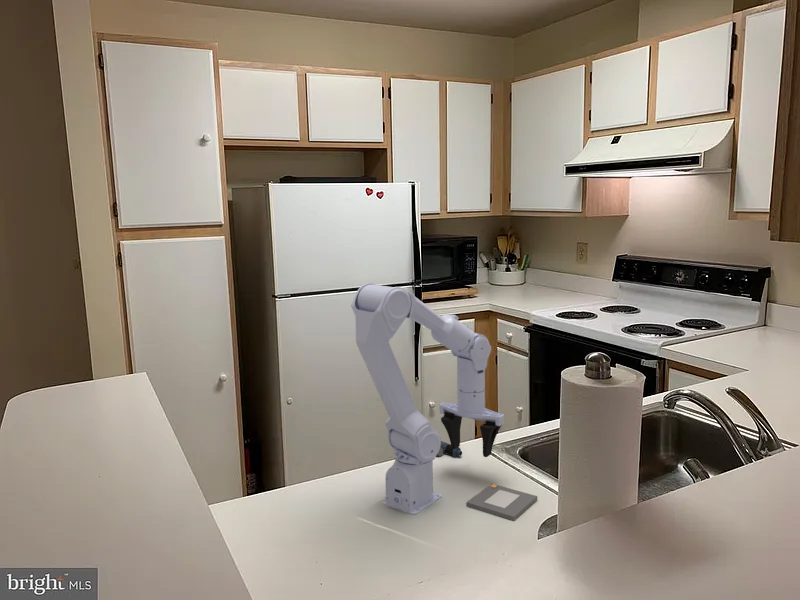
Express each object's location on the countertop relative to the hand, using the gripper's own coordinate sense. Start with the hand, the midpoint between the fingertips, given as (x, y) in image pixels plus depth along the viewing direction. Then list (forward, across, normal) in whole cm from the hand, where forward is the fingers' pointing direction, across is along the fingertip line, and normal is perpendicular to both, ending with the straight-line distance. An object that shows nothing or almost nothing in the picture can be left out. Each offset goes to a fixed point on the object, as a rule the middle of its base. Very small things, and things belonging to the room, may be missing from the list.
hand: (471, 451), depth 131 cm
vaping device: (+4, +19, -8) cm, 21 cm away
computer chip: (+6, -11, +7) cm, 14 cm away
